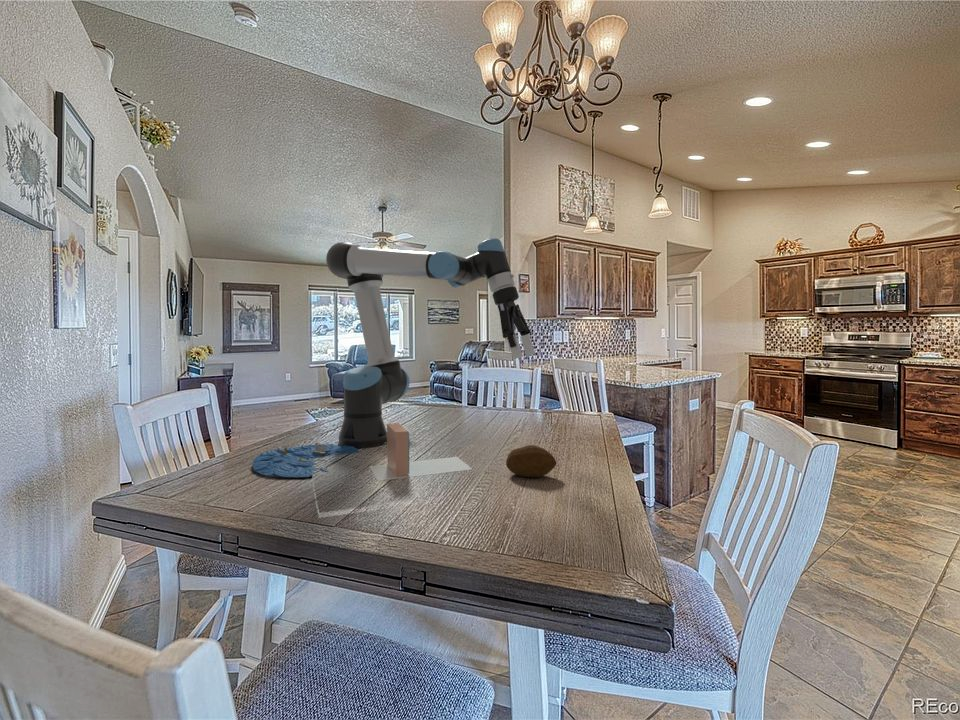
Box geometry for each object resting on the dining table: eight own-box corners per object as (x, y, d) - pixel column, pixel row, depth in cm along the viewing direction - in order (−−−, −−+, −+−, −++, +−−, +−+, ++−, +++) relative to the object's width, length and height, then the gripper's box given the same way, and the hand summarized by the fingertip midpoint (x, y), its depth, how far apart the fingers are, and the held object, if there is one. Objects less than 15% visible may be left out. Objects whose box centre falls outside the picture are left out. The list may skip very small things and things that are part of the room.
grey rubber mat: (369, 469, 122) (369, 466, 122) (456, 459, 131) (456, 456, 131) (377, 484, 111) (377, 480, 111) (472, 472, 120) (472, 469, 120)
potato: (505, 470, 122) (505, 440, 121) (553, 471, 122) (554, 441, 121) (506, 480, 114) (506, 449, 113) (557, 481, 114) (558, 450, 113)
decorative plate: (382, 453, 142) (382, 436, 142) (343, 487, 113) (344, 465, 112) (288, 446, 145) (289, 429, 145) (227, 477, 116) (227, 456, 115)
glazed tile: (387, 465, 123) (387, 423, 122) (400, 464, 124) (400, 422, 123) (395, 477, 114) (395, 432, 113) (409, 475, 115) (409, 431, 114)
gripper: (501, 281, 130) (524, 355, 129) (526, 288, 153) (546, 350, 152) (477, 291, 133) (499, 363, 132) (505, 295, 156) (524, 357, 155)
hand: (524, 356), depth 142 cm, fingers open, 13 cm apart
